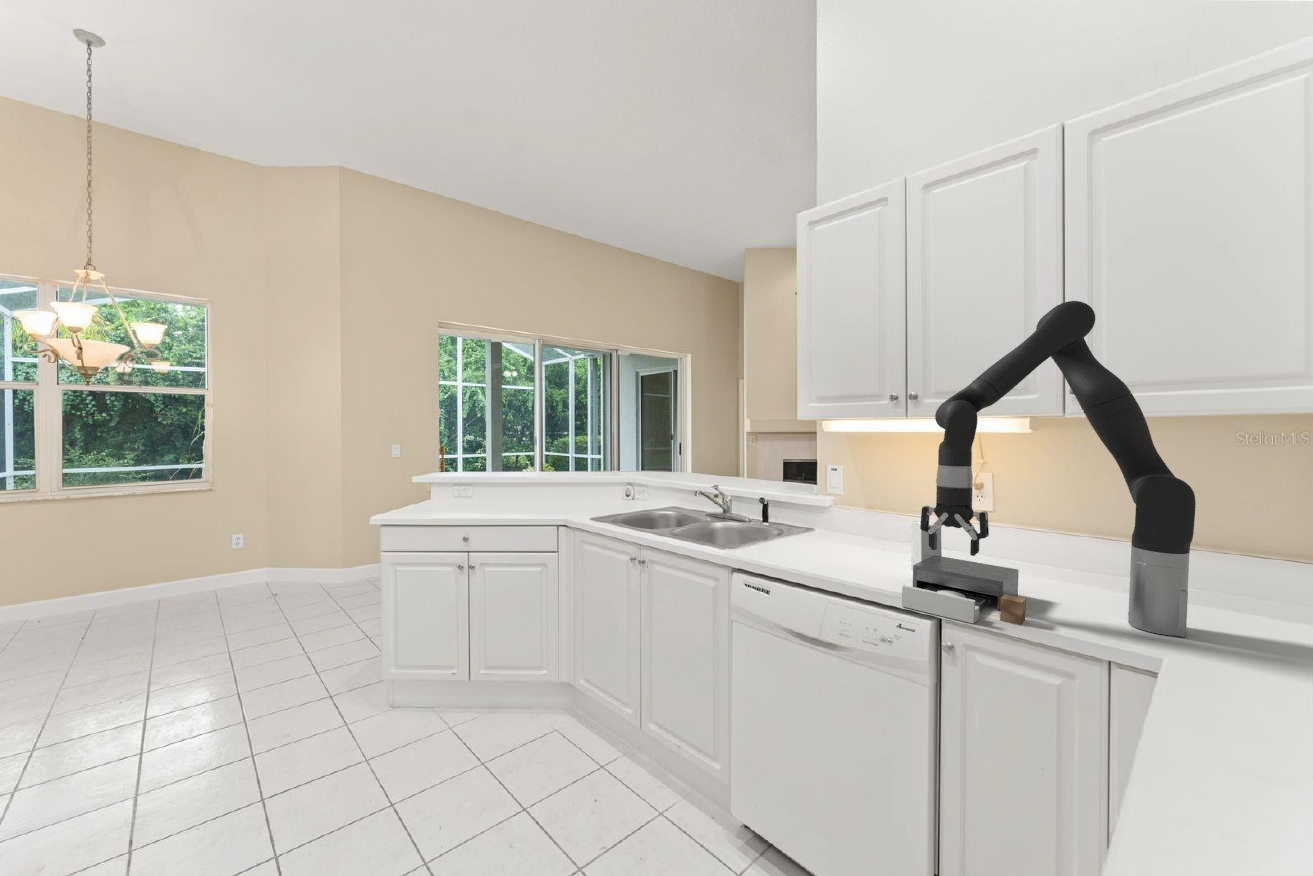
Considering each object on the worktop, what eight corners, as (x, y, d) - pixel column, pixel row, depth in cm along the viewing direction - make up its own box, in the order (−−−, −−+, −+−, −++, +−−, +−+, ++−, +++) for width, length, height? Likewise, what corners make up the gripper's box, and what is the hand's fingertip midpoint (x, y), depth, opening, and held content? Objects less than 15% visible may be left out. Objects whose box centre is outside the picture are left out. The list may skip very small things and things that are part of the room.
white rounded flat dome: (968, 601, 131) (968, 594, 131) (960, 606, 127) (960, 600, 127) (941, 595, 135) (941, 588, 135) (933, 600, 131) (933, 593, 131)
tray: (993, 604, 131) (994, 585, 131) (973, 623, 118) (973, 601, 118) (927, 590, 141) (928, 572, 141) (901, 606, 129) (902, 586, 128)
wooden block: (1025, 620, 121) (1025, 598, 121) (1021, 625, 118) (1022, 602, 118) (1004, 616, 124) (1004, 594, 124) (999, 620, 121) (1000, 598, 121)
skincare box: (942, 577, 155) (943, 525, 154) (919, 576, 155) (921, 524, 155) (930, 569, 163) (931, 520, 163) (909, 568, 164) (910, 519, 163)
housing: (1017, 597, 138) (1018, 569, 138) (1002, 611, 127) (1003, 582, 126) (933, 580, 152) (933, 555, 152) (912, 592, 141) (913, 565, 140)
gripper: (992, 485, 128) (991, 554, 128) (927, 481, 138) (926, 545, 138) (984, 488, 122) (982, 560, 123) (917, 483, 132) (916, 550, 132)
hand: (953, 552), depth 130 cm, fingers open, 8 cm apart
